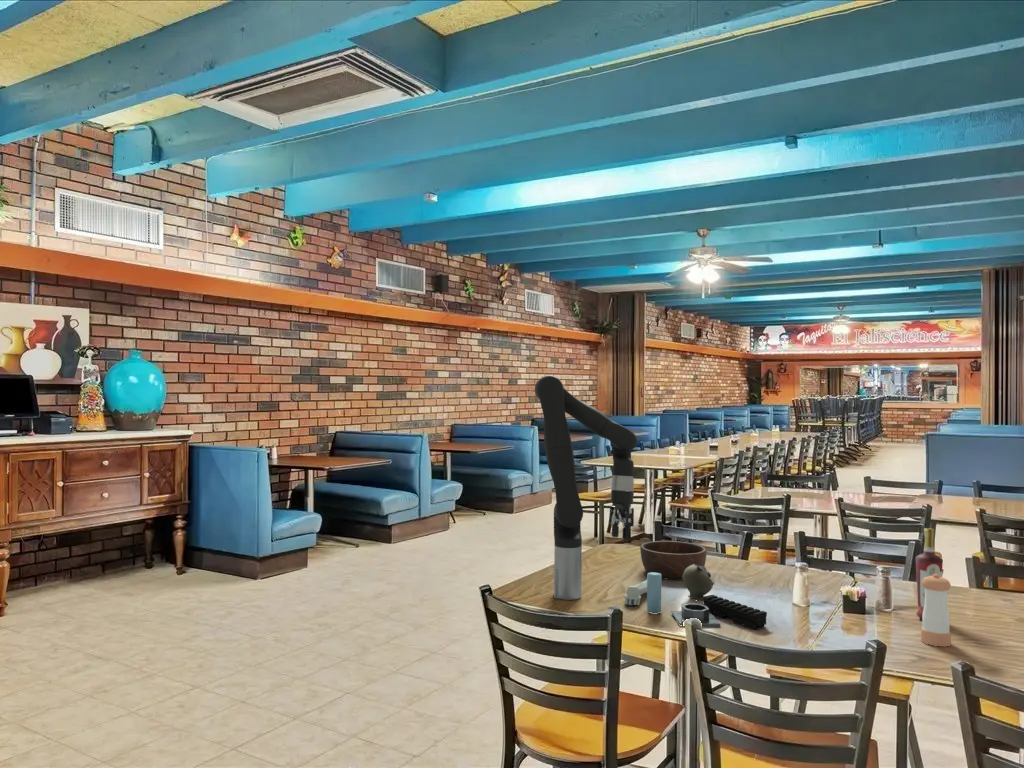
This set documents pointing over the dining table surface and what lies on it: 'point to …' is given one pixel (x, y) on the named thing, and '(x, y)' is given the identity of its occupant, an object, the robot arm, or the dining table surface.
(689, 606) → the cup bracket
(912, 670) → the dining table surface
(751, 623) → the rail mount
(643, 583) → the grey handheld tool
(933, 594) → the salt shaker
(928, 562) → the liquor
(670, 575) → the wooden bowl
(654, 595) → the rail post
